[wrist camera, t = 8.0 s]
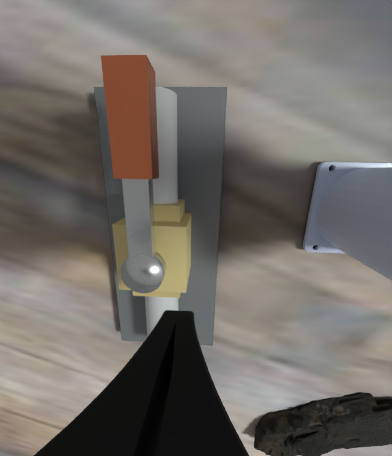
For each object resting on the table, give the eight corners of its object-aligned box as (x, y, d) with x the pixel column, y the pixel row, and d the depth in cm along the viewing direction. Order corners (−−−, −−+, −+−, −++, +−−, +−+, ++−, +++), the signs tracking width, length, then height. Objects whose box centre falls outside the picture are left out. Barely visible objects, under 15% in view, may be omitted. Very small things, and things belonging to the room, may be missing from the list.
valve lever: (167, 283, 13) (162, 296, 12) (129, 281, 13) (120, 294, 12) (160, 72, 10) (153, 54, 8) (110, 72, 10) (94, 55, 8)
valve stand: (225, 93, 15) (237, 43, 9) (212, 336, 22) (214, 398, 16) (102, 93, 16) (37, 44, 10) (126, 331, 23) (96, 390, 17)
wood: (433, 378, 23) (467, 409, 20) (429, 422, 25) (460, 456, 22) (243, 401, 25) (248, 431, 23) (253, 439, 27) (259, 471, 24)
